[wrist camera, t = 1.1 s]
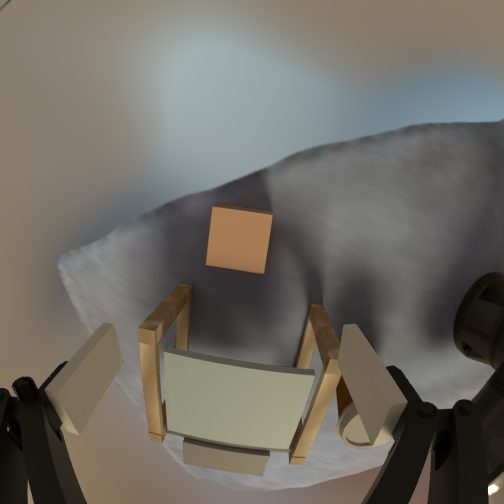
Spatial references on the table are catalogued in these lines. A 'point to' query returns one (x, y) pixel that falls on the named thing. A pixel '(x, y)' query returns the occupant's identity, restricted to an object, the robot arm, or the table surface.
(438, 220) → the table surface
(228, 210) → the block
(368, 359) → the robot arm
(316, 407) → the frame
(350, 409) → the disposable coffee cup
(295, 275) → the table surface
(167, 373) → the trapdoor
